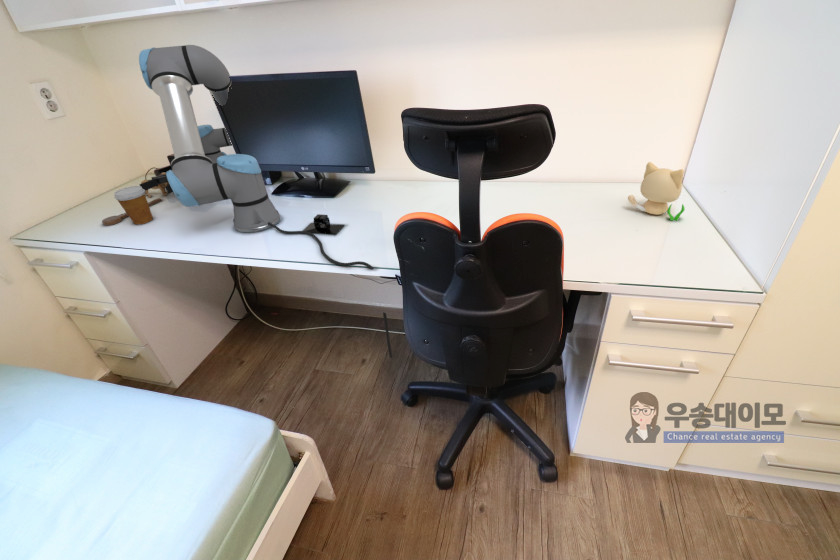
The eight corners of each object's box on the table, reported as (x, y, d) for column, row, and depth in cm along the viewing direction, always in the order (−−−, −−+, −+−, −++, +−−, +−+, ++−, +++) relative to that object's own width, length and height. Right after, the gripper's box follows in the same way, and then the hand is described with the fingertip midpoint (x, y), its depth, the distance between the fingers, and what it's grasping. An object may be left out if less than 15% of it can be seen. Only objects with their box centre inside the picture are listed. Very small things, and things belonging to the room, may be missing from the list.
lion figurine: (178, 190, 173) (169, 170, 168) (175, 194, 168) (166, 173, 163) (142, 195, 170) (132, 175, 165) (137, 199, 166) (127, 179, 161)
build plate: (301, 233, 128) (297, 220, 125) (312, 223, 133) (308, 210, 131) (335, 235, 124) (332, 221, 122) (345, 225, 130) (342, 212, 128)
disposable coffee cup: (123, 224, 144) (106, 193, 138) (148, 214, 151) (133, 184, 144) (138, 228, 140) (122, 196, 134) (163, 217, 147) (148, 187, 140)
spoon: (165, 201, 162) (164, 197, 161) (110, 226, 144) (108, 222, 143) (155, 200, 164) (153, 196, 163) (99, 224, 146) (97, 221, 145)
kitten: (689, 215, 118) (705, 166, 110) (670, 225, 114) (686, 175, 105) (641, 201, 129) (653, 155, 120) (623, 210, 124) (634, 163, 116)
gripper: (224, 180, 162) (182, 200, 146) (180, 177, 170) (135, 196, 154) (217, 162, 158) (174, 180, 142) (172, 160, 166) (126, 177, 150)
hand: (154, 188), depth 148 cm, fingers open, 13 cm apart
